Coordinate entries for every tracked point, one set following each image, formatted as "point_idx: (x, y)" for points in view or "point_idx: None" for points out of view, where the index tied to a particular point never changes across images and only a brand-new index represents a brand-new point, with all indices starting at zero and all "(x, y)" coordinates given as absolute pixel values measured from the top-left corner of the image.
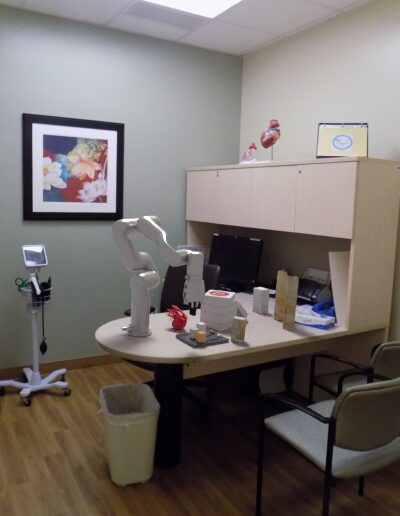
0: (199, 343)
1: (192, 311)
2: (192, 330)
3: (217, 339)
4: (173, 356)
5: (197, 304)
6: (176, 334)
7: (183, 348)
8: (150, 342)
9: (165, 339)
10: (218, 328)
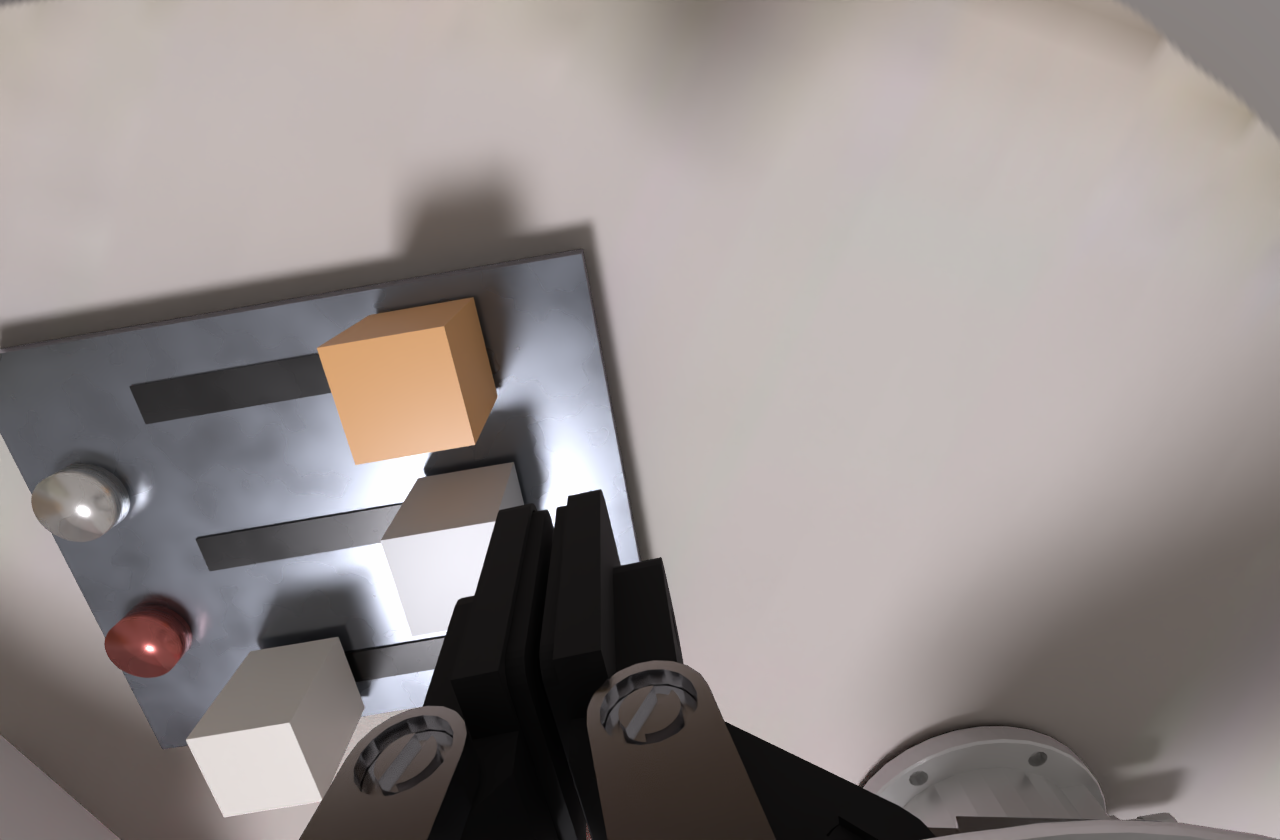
0: (480, 299)
1: (616, 599)
2: None
3: (153, 383)
4: (999, 16)
5: (337, 833)
6: None
7: (727, 277)
8: (1003, 560)
9: (797, 610)
10: (22, 783)
